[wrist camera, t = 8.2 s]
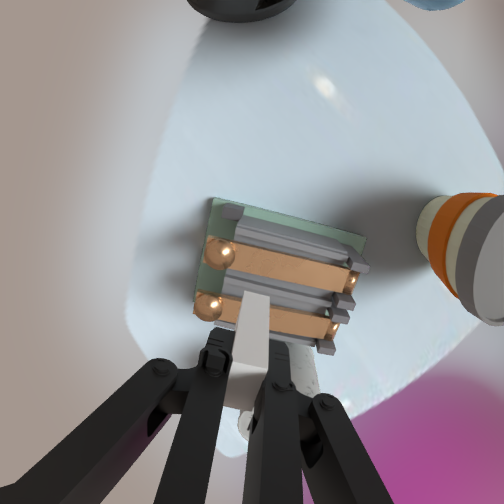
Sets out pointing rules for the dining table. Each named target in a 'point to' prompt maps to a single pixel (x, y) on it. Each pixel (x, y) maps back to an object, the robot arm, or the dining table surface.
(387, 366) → the dining table surface
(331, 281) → the strap
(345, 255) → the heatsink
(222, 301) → the strap
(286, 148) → the dining table surface
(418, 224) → the reusable coffee cup
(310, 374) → the gray concrete cylinder
